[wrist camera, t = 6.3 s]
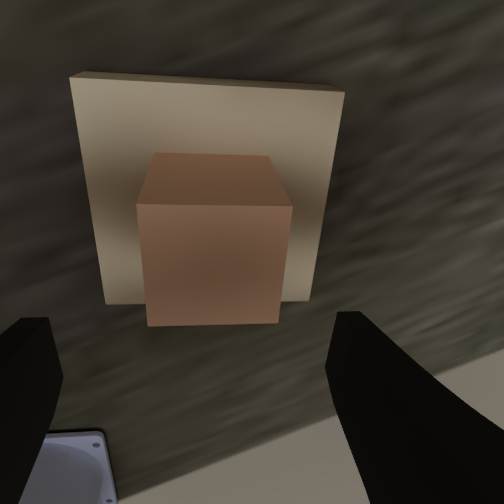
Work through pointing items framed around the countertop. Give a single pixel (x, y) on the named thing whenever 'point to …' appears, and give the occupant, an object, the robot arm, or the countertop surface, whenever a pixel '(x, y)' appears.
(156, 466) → the countertop surface
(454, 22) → the countertop surface
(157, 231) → the block
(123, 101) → the base
